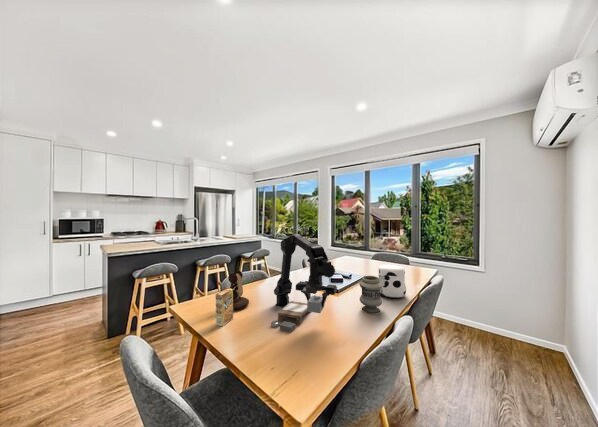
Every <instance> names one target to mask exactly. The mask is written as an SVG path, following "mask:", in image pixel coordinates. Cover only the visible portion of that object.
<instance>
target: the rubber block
mask: <svg viewBox="0 0 598 427" xmlns="http://www.w3.org/2000/svg"><path fill="white" fill-rule="evenodd" d="M279 330H281V331H284V332H287V333H293V331H295V330H296V323H293V322H290V321H286V320H285V321H284V320H283V321H282V322H280V323H279Z"/></svg>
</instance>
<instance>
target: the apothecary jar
mask: <svg viewBox="0 0 598 427" xmlns="http://www.w3.org/2000/svg"><path fill="white" fill-rule="evenodd" d="M359 287H360V288H361V295H360V296H359V302H360V303H361V304H362V305H363V306H362V307H361V311H362V312H363V313H367V314H369V315H370V314H371V315H377V314H378V315H379V314H380V313H381V309H380V308H379V307H380V306H381V305H383V302H384V300H383V298H382V297H381V294H380V289H381V288H382V284H381V282H379V276H374V275H364V276H362V280H361V281H360V282H359Z"/></svg>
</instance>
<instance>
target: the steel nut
mask: <svg viewBox="0 0 598 427" xmlns="http://www.w3.org/2000/svg"><path fill="white" fill-rule="evenodd" d="M270 327H271V328H278V327H279V328H280V321H279V320H273V321H271V323H270Z"/></svg>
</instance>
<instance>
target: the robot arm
mask: <svg viewBox="0 0 598 427" xmlns="http://www.w3.org/2000/svg"><path fill="white" fill-rule="evenodd" d="M297 246H298V247H299V248H301V249H302V250H304V251H305V255H306V256H307V257H308V259H307V262H308V263H309V275H308V280H307V281H302V280H300V281H299V282H297V283H296V284H295V291H299V292H300V293H302V294H304V296H305V298H306V301H308V300H309V299H310V298H311V297H312V295H317V293H318V292H321V291H323V292H322V294H321V297H322V307H324V308H325V303H326V301H327V298H328V296H330V295H331V296H332V295H333V296H334V295H336V293H337V292H338V286H337V285H336V284H327V286H325V285H323V284H324V283H323V277H326V278H328V279H331V278H332V277H334V275H335V272H336V269H335V266H334V265H333V264H332V261H329V258H328V255H327V253H326V252H325V248H324V247H323V246H322V245H320V244H318V243H313V242H310V241H309V240H307V239H306V238H304V237H303V236H301V234H299V233H294V234H293V233H292V234H290V235H289V236H288V237H285V238H284V239H282V240H281V242H280V250H281V252H282V261H281V262H282V263H281V272H280V278H279V279H278V280H277V282H276V286H275V287H274V289H273V294H274V295H275V296H276V303H275V306H277V307H282V308H284V307H285V306H286V305H287V304H288V303H290V302H291V301H290V296H289V294H291V292H292V289H293V283H292V281H291V279H290V274H291V266H292V256H293V254H294V252H296V248H297ZM311 294H312V295H311Z"/></svg>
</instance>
